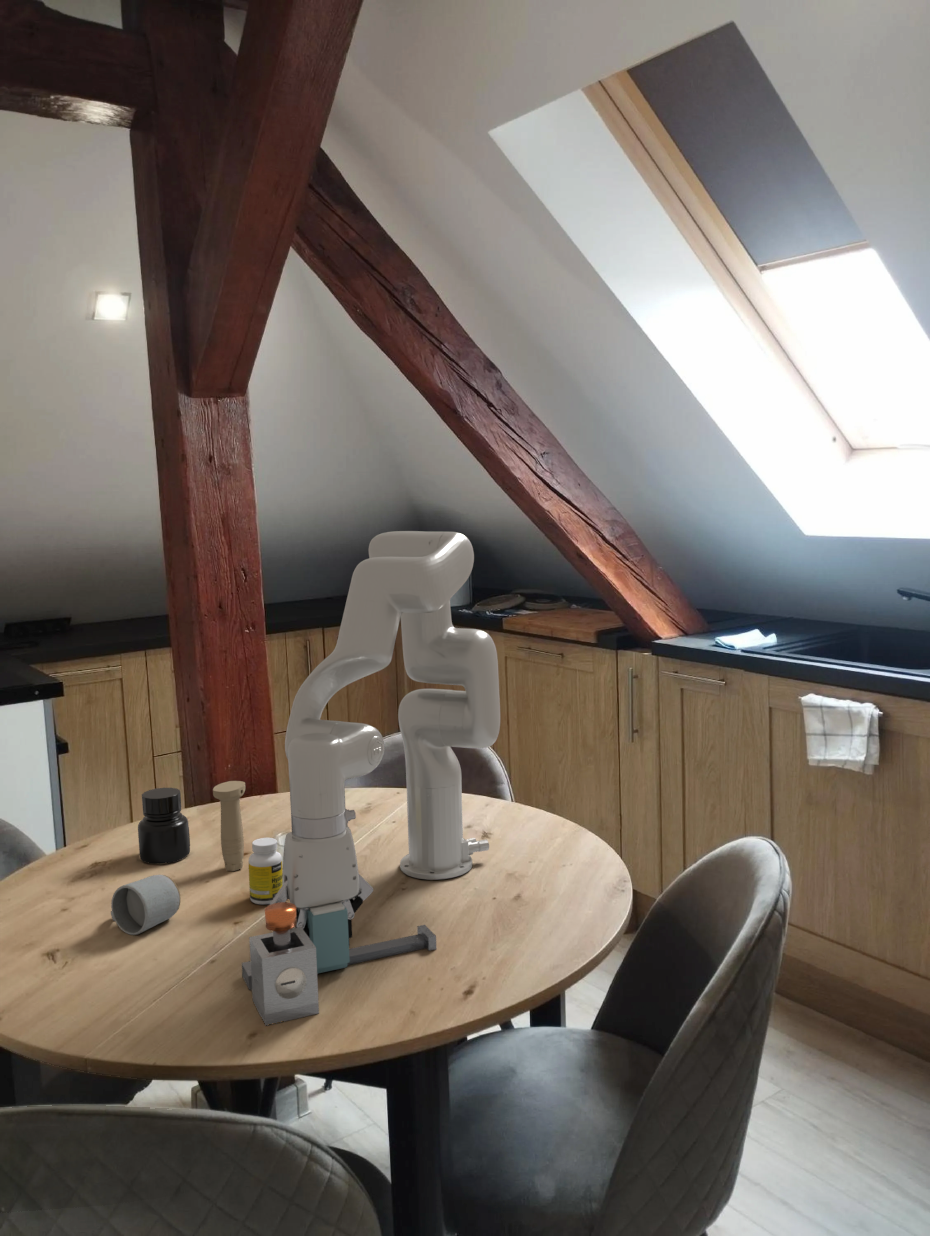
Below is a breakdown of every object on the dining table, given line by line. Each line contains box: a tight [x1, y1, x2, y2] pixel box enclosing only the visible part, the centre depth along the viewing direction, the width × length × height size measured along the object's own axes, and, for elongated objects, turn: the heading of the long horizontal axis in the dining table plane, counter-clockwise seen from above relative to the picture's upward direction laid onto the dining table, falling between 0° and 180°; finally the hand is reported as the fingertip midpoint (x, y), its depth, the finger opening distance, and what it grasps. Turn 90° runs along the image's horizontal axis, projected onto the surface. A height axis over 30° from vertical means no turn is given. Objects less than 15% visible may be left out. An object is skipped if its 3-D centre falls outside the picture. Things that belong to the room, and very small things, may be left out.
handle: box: [212, 780, 246, 872], centre depth 190 cm, size 5×6×15 cm
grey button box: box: [248, 927, 320, 1027], centre depth 141 cm, size 7×7×9 cm
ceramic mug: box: [110, 874, 181, 936], centre depth 169 cm, size 11×8×8 cm
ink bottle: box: [137, 787, 191, 865], centre depth 197 cm, size 10×9×12 cm
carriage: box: [306, 902, 350, 975], centre depth 152 cm, size 5×7×9 cm
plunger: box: [264, 901, 297, 952], centre depth 140 cm, size 4×4×8 cm
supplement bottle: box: [247, 837, 283, 905], centre depth 177 cm, size 5×5×10 cm
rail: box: [241, 924, 437, 991], centre depth 154 cm, size 27×4×2 cm, turn 114°
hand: (324, 946), depth 153 cm, fingers closed on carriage, 5 cm apart
